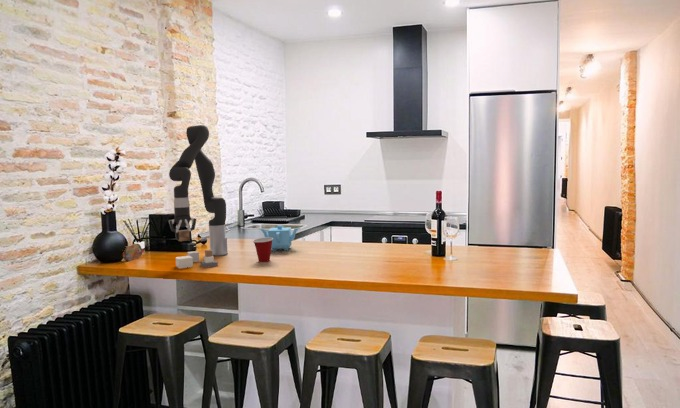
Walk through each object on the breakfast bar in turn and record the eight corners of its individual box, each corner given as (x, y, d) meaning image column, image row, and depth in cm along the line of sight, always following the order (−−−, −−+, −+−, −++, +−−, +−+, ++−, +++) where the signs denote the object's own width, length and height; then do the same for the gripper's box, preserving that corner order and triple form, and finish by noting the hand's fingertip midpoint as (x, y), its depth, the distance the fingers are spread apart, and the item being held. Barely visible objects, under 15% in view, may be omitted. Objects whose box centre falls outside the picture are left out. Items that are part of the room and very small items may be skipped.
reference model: (214, 263, 268) (213, 248, 268) (217, 266, 262) (217, 250, 262) (200, 265, 265) (200, 250, 264) (204, 267, 259) (203, 252, 258)
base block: (189, 264, 268) (189, 255, 268) (193, 267, 262) (192, 257, 261) (176, 266, 265) (175, 257, 264) (179, 268, 258) (178, 259, 258)
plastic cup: (250, 260, 274) (249, 238, 273) (267, 258, 280) (266, 236, 279) (259, 263, 265) (258, 241, 264) (277, 260, 271) (276, 238, 270)
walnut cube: (187, 239, 266) (187, 229, 265) (189, 240, 261) (189, 230, 261) (177, 240, 264) (177, 230, 263) (179, 241, 259) (179, 231, 259)
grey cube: (197, 260, 281) (196, 251, 280) (199, 261, 276) (198, 252, 276) (187, 261, 278) (187, 252, 278) (189, 262, 274) (189, 253, 274)
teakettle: (277, 253, 293) (276, 228, 292) (258, 250, 306) (257, 225, 305) (302, 249, 306) (302, 224, 305) (283, 245, 320) (282, 222, 318)
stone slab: (126, 262, 280) (125, 247, 279) (121, 262, 281) (120, 246, 280) (142, 256, 295) (141, 242, 294) (137, 256, 295) (136, 242, 295)
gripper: (194, 204, 268) (195, 237, 269) (166, 206, 261) (167, 239, 262) (197, 205, 261) (199, 238, 263) (168, 207, 254) (170, 241, 256)
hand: (183, 238), depth 262 cm, fingers closed on walnut cube, 5 cm apart
